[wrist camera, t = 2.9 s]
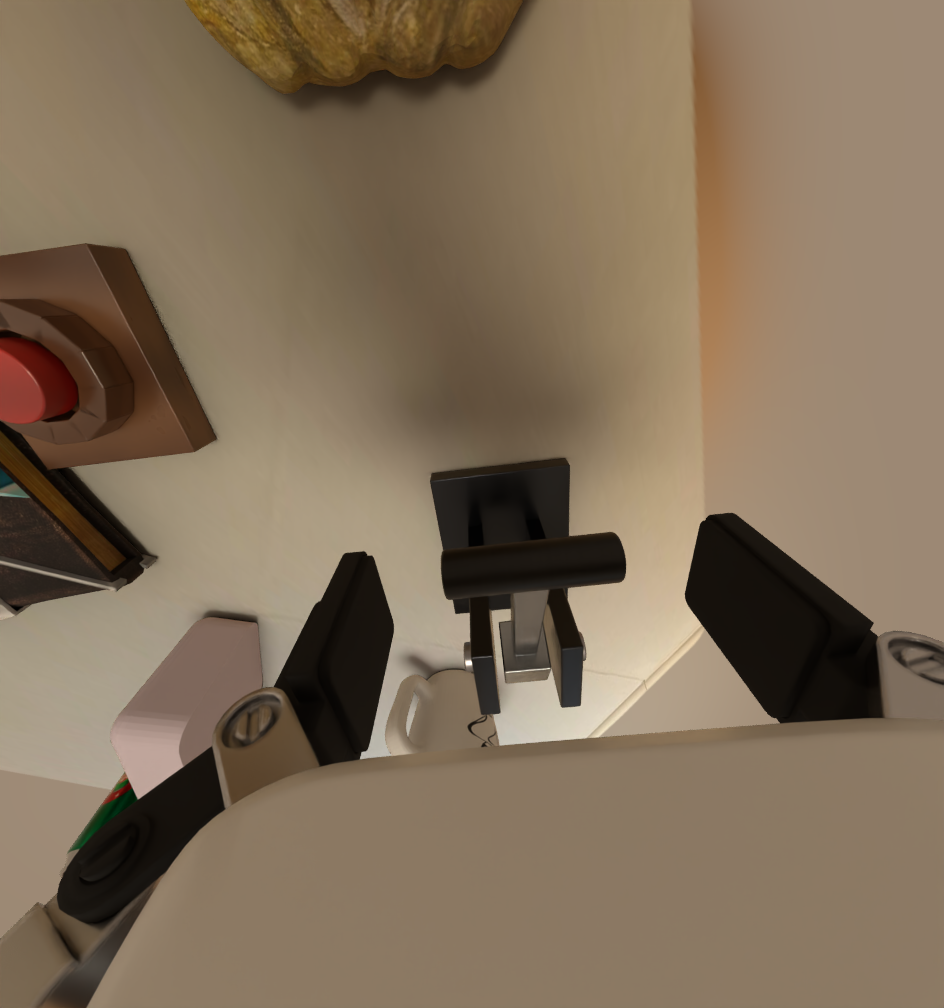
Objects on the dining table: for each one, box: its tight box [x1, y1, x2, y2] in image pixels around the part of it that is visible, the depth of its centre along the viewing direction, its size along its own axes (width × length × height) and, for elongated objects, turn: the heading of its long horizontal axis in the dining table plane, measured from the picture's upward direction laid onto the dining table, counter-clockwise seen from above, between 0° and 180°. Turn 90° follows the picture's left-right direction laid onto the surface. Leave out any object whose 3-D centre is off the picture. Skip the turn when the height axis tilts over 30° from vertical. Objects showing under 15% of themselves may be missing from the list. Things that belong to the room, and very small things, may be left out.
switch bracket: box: [430, 458, 586, 715], centre depth 22 cm, size 12×9×12 cm
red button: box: [0, 337, 78, 424], centre depth 17 cm, size 4×4×2 cm
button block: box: [0, 243, 216, 469], centre depth 19 cm, size 10×9×4 cm
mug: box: [385, 670, 499, 756], centre depth 31 cm, size 11×8×10 cm
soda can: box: [60, 772, 138, 878], centre depth 32 cm, size 5×5×12 cm
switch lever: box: [441, 532, 626, 684], centre depth 15 cm, size 12×5×2 cm, turn 7°
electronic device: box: [110, 617, 263, 799], centre depth 28 cm, size 10×5×10 cm, turn 167°
